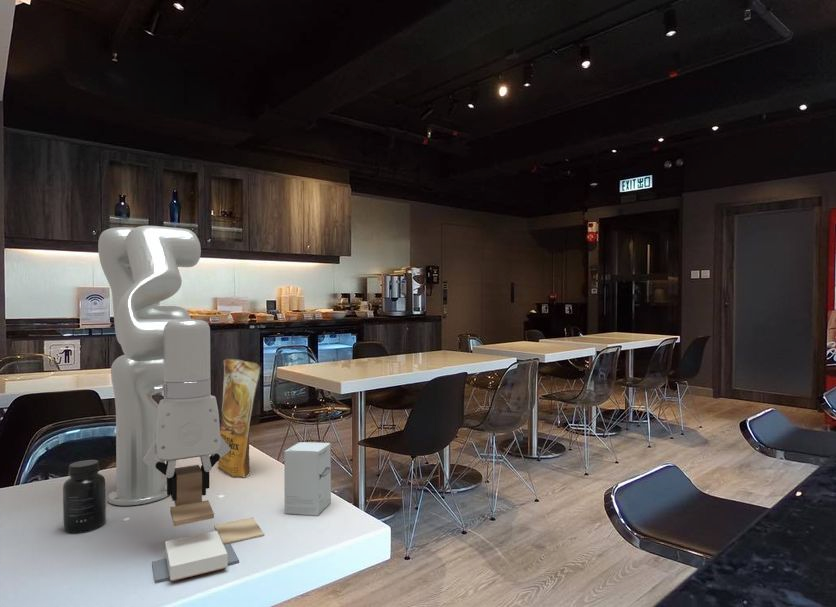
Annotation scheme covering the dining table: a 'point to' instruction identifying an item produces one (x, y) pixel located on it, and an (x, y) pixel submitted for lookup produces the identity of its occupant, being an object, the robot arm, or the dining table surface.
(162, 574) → the mat
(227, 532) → the pad
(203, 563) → the tile
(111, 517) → the dining table surface
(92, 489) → the supplement bottle
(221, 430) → the pancake mix bag
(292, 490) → the supplement box
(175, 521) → the wooden block stack
